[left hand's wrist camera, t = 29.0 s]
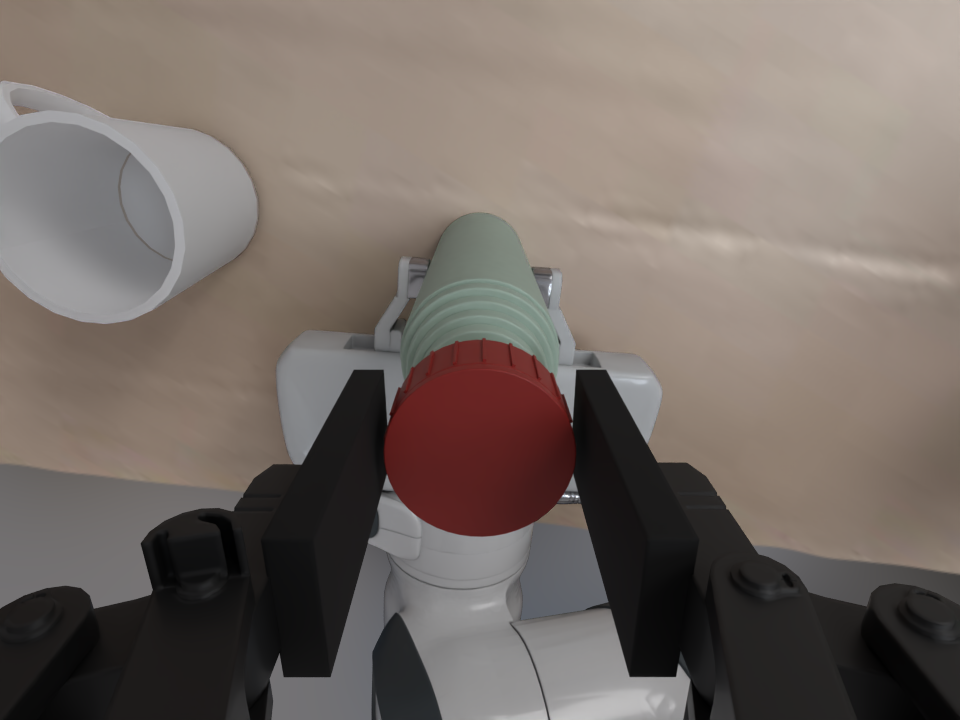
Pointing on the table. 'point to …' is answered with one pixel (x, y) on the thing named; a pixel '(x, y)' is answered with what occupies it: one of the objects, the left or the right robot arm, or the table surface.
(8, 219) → the mug
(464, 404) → the cap
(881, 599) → the left robot arm
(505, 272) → the bottle
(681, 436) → the table surface
